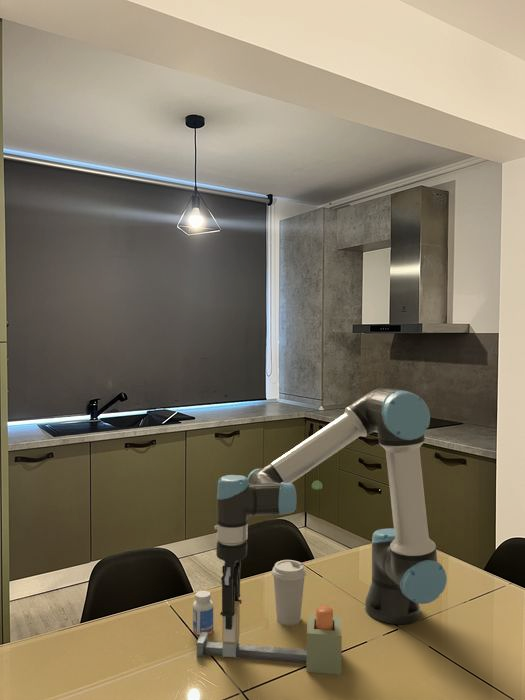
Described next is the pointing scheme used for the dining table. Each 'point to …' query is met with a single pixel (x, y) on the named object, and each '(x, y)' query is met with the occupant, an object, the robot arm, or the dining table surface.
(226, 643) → the carriage
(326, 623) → the orange rounded piece
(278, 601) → the coffee cup
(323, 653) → the green square holder
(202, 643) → the rail
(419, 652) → the dining table surface
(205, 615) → the pill bottle
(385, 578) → the robot arm
